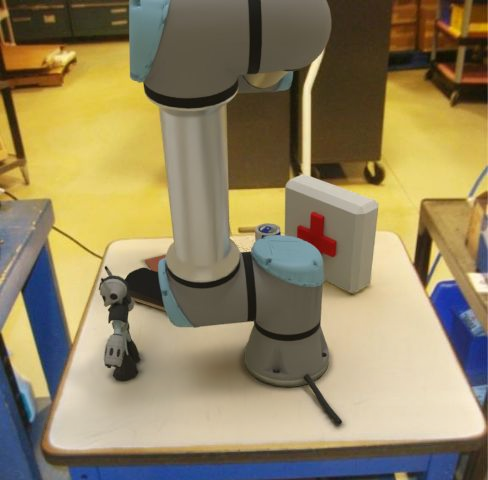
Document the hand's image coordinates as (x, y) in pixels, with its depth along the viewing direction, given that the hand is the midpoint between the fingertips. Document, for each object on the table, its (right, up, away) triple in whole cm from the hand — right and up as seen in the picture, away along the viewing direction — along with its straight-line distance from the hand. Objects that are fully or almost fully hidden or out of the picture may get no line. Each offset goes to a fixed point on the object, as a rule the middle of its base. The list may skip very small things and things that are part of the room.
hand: (197, 223), depth 135 cm
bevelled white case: (+28, -11, +1) cm, 30 cm away
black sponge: (-8, -17, -5) cm, 19 cm away
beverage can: (+15, -15, -4) cm, 22 cm away
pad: (-2, -6, +9) cm, 11 cm away
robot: (-11, -30, -23) cm, 39 cm away
